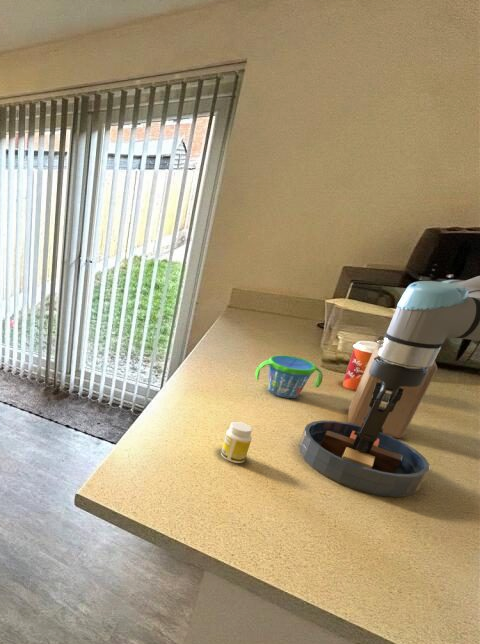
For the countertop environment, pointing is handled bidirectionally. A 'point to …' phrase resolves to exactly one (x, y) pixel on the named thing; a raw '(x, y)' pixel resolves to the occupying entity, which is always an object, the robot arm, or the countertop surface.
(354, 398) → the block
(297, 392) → the snack cup
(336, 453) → the stick
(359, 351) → the paper cup
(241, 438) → the supplement bottle
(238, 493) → the countertop surface
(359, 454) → the block beech
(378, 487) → the bowl
